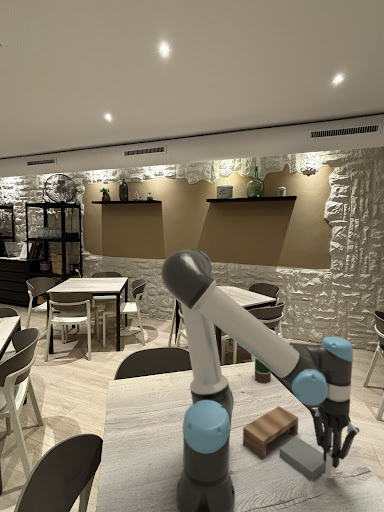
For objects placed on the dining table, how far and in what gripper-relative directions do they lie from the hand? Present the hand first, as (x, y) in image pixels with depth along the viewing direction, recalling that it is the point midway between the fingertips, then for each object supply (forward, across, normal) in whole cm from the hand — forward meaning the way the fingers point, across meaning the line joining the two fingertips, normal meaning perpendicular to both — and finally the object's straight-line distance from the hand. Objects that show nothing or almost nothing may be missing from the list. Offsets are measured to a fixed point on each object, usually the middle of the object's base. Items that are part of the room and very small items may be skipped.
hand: (330, 474), depth 82 cm
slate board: (+2, +8, 0) cm, 8 cm away
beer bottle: (+2, +47, -30) cm, 56 cm away
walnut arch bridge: (+1, +20, 0) cm, 20 cm away
